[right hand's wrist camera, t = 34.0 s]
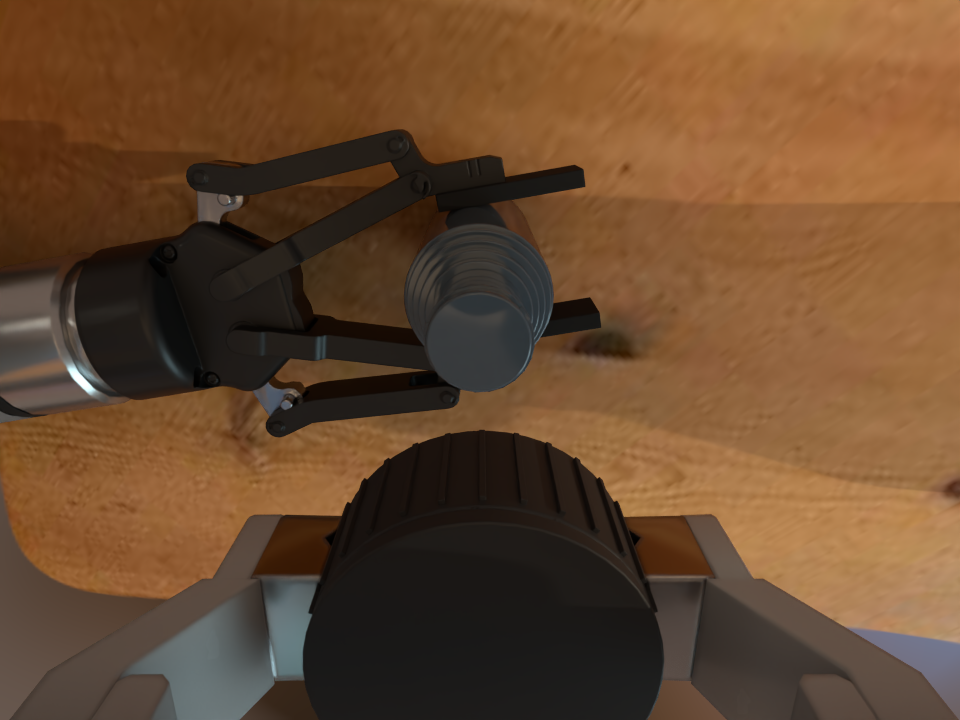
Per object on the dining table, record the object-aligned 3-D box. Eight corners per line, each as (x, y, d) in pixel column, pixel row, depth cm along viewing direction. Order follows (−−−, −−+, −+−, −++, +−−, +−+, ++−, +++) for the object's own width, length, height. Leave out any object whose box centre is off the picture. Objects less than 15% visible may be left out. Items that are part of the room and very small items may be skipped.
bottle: (464, 309, 38) (453, 457, 22) (407, 226, 36) (347, 318, 20) (549, 256, 37) (605, 369, 20) (494, 167, 35) (508, 213, 19)
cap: (549, 372, 9) (571, 453, 7) (673, 604, 11) (724, 731, 8) (279, 505, 10) (222, 615, 8) (428, 704, 11) (416, 845, 9)
